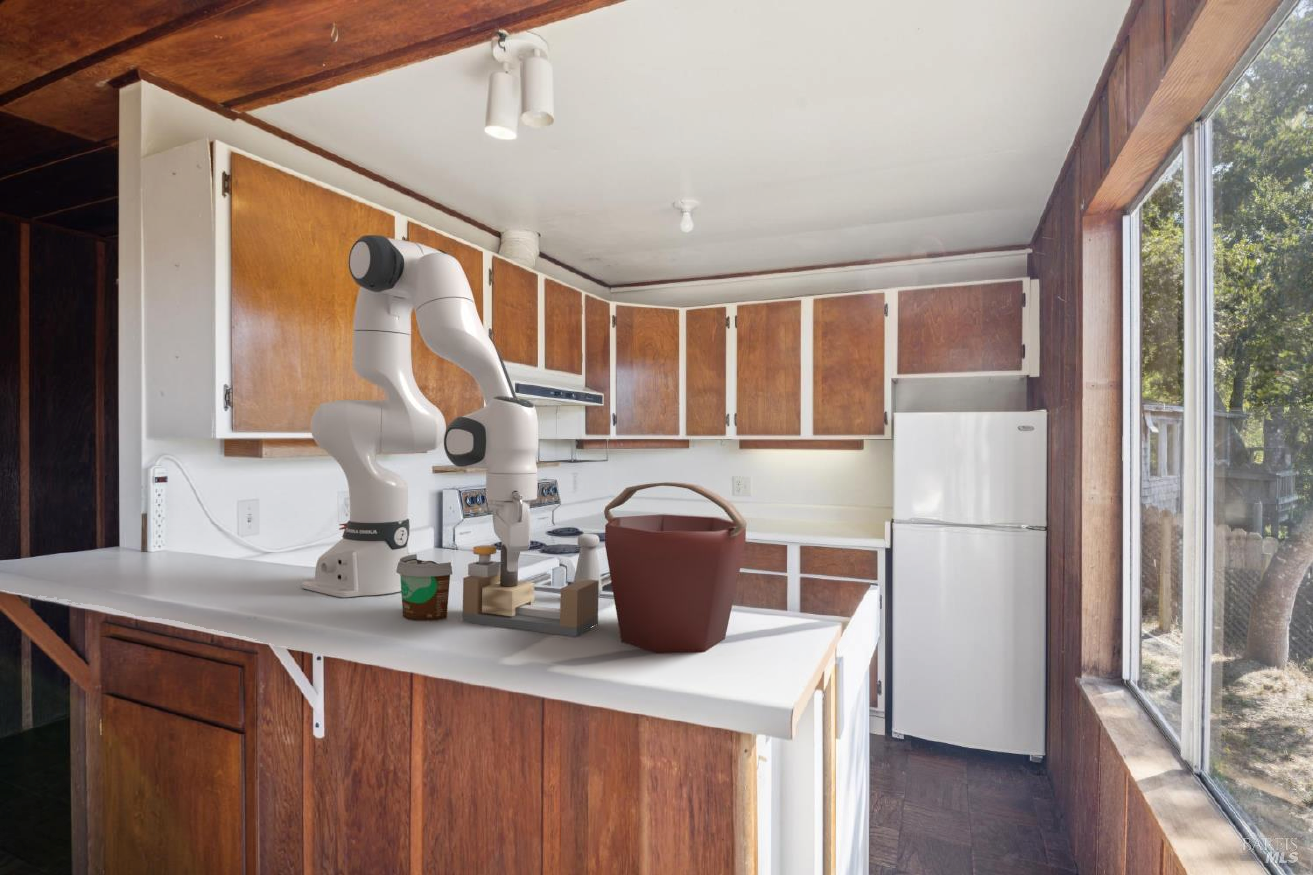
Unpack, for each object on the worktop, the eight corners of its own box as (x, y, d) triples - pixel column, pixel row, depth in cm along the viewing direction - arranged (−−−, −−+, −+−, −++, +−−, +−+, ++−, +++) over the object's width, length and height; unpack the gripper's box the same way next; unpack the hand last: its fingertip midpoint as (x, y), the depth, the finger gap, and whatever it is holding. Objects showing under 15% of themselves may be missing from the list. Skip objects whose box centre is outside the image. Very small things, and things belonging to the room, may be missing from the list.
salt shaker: (597, 604, 125) (598, 537, 125) (568, 602, 126) (569, 535, 126) (605, 597, 131) (606, 533, 131) (578, 595, 132) (579, 531, 132)
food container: (382, 613, 116) (383, 557, 116) (413, 607, 121) (414, 553, 121) (418, 627, 108) (420, 567, 108) (451, 620, 113) (452, 562, 113)
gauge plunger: (468, 565, 114) (468, 548, 114) (481, 561, 118) (482, 544, 118) (487, 567, 113) (487, 549, 113) (500, 563, 117) (501, 546, 117)
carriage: (481, 612, 111) (483, 547, 111) (505, 602, 118) (506, 541, 118) (511, 616, 109) (513, 549, 109) (533, 606, 116) (535, 543, 116)
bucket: (572, 633, 106) (575, 480, 106) (662, 609, 123) (665, 476, 123) (686, 672, 90) (690, 491, 90) (773, 638, 106) (776, 484, 106)
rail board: (460, 620, 112) (461, 565, 112) (487, 609, 120) (488, 558, 120) (576, 636, 105) (577, 577, 105) (597, 624, 112) (598, 568, 112)
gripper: (540, 494, 105) (538, 579, 105) (521, 484, 124) (519, 557, 124) (500, 494, 103) (498, 582, 103) (487, 484, 122) (485, 558, 122)
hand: (510, 568), depth 114 cm, fingers closed on carriage, 3 cm apart
